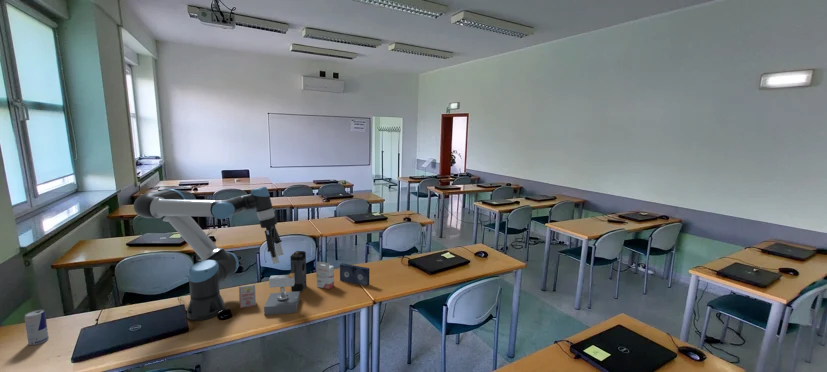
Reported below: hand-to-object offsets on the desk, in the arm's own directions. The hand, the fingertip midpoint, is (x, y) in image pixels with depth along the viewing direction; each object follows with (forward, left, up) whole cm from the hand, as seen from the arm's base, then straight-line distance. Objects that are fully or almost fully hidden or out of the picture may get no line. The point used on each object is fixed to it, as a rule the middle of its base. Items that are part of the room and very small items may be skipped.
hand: (278, 259), depth 165 cm
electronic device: (+8, +13, -22) cm, 27 cm away
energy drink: (-86, -20, -22) cm, 92 cm away
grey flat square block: (+2, -6, -22) cm, 23 cm away
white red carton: (-15, -2, -22) cm, 27 cm away
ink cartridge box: (+22, +14, -22) cm, 34 cm away
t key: (+2, -6, -18) cm, 19 cm away
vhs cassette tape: (+38, +16, -22) cm, 47 cm away
